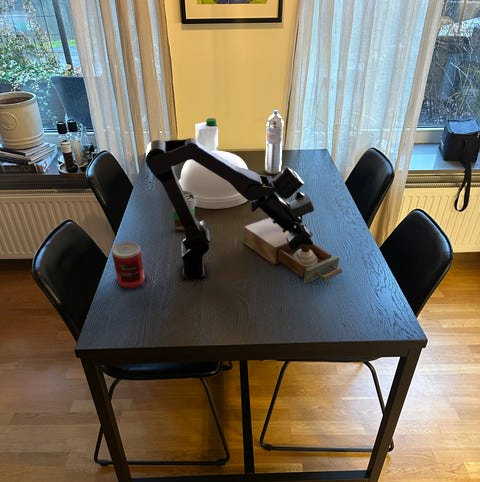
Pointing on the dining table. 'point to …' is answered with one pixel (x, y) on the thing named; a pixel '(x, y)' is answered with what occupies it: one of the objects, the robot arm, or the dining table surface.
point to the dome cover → (211, 184)
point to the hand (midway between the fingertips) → (310, 241)
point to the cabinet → (265, 238)
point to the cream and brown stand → (306, 255)
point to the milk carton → (207, 134)
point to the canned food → (128, 264)
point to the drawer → (318, 270)
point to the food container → (192, 204)
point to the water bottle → (274, 144)
